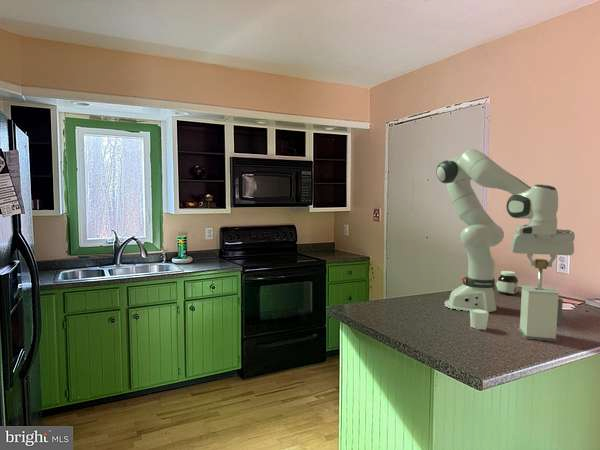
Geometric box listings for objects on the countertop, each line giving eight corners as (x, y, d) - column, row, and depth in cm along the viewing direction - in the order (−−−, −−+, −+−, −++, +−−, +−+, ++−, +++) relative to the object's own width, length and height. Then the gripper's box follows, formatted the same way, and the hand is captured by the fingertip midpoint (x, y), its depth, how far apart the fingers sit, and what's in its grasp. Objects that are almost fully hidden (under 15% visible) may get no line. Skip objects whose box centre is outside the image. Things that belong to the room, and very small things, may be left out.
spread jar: (507, 296, 213) (509, 274, 212) (488, 291, 223) (489, 270, 222) (522, 293, 219) (523, 272, 218) (502, 289, 229) (503, 268, 228)
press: (525, 339, 152) (527, 291, 150) (518, 329, 162) (520, 285, 160) (564, 342, 148) (567, 293, 147) (554, 332, 158) (557, 287, 157)
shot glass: (465, 326, 165) (465, 309, 165) (478, 324, 168) (479, 307, 167) (478, 332, 159) (478, 314, 158) (491, 330, 161) (492, 312, 161)
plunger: (530, 314, 152) (533, 260, 150) (525, 309, 159) (527, 257, 157) (552, 316, 150) (555, 261, 149) (546, 310, 157) (549, 258, 156)
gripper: (571, 229, 152) (569, 266, 154) (510, 227, 158) (509, 263, 159) (578, 230, 146) (576, 269, 148) (514, 229, 152) (513, 266, 153)
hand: (540, 266), depth 153 cm, fingers closed on plunger, 4 cm apart
